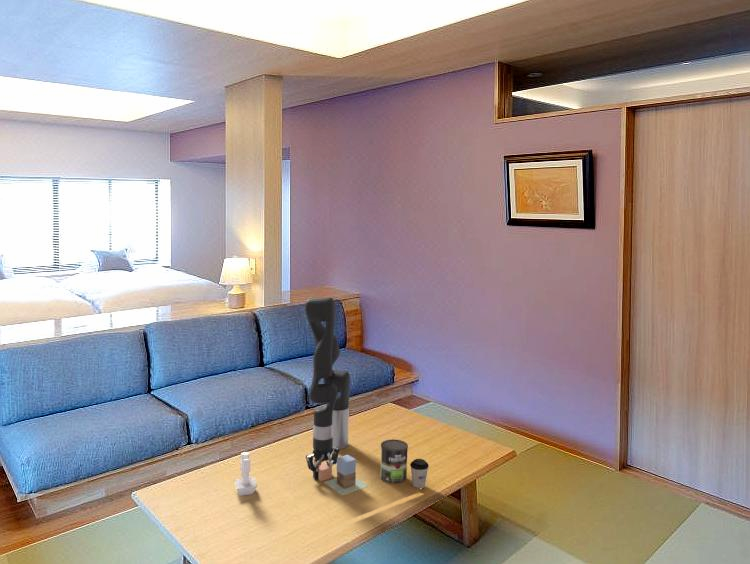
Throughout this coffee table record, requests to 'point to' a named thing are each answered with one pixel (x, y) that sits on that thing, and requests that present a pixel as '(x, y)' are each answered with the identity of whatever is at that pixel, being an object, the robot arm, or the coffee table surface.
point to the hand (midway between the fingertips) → (322, 477)
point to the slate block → (346, 465)
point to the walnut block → (346, 480)
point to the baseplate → (343, 491)
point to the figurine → (245, 477)
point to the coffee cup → (419, 472)
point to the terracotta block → (325, 472)
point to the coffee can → (393, 461)
